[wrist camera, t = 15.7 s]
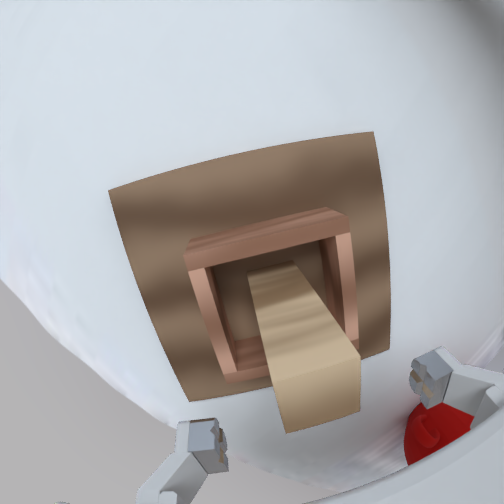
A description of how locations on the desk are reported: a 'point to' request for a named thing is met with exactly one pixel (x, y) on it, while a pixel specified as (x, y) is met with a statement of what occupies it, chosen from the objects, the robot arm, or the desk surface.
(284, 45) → the desk surface
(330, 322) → the wooden peg
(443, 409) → the ceramic cup
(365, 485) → the robot arm
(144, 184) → the wooden peg socket board
